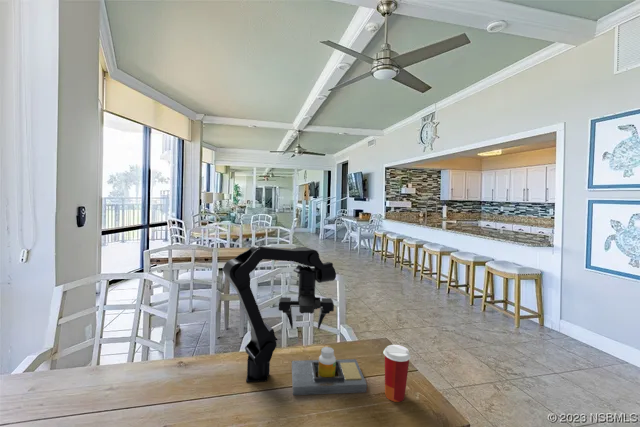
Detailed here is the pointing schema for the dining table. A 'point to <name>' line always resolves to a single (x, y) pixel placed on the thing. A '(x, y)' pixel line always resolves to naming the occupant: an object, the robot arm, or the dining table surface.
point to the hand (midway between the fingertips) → (305, 328)
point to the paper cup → (396, 371)
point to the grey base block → (327, 378)
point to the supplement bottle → (327, 363)
